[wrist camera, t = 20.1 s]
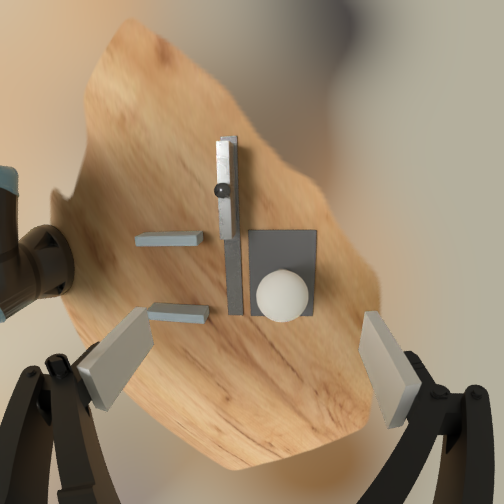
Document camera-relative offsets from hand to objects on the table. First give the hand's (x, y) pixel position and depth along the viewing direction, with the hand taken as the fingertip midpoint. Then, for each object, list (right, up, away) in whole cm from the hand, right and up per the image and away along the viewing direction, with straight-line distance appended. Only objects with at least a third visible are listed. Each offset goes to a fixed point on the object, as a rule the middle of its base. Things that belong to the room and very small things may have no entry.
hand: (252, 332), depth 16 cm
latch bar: (-3, +14, +24) cm, 28 cm away
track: (-3, +8, +26) cm, 27 cm away
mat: (+5, +1, +27) cm, 27 cm away
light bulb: (+4, +1, +27) cm, 27 cm away
